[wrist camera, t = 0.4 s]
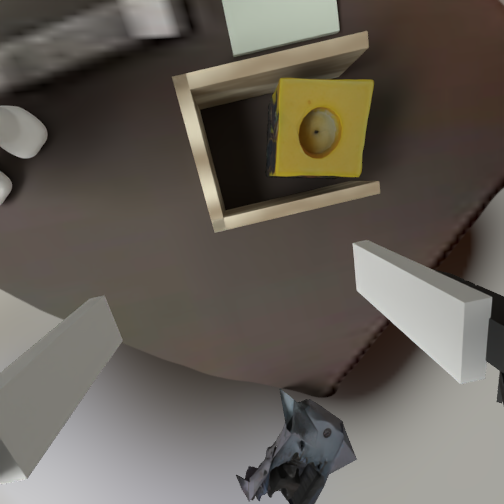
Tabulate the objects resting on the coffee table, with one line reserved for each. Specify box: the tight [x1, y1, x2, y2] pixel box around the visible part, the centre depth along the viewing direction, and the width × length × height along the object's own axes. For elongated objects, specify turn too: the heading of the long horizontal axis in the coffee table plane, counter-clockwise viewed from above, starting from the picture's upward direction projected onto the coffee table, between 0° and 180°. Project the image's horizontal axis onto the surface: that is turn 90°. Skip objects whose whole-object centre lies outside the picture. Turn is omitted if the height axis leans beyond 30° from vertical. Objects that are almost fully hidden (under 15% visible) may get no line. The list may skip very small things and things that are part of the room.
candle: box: [265, 78, 374, 179], centre depth 32 cm, size 10×10×10 cm
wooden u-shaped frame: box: [172, 31, 380, 232], centre depth 33 cm, size 17×21×8 cm
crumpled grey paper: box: [236, 389, 356, 504], centre depth 47 cm, size 18×20×9 cm
